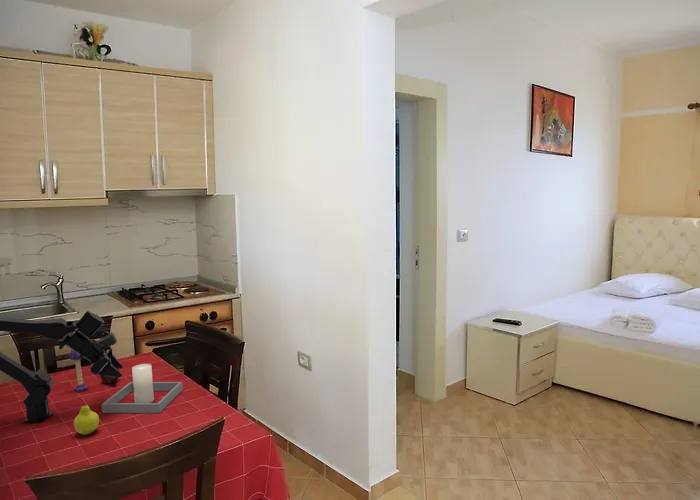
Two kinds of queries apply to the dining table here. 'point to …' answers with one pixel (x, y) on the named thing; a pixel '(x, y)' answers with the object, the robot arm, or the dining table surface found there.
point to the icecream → (109, 378)
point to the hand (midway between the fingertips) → (121, 371)
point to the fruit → (86, 420)
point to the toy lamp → (78, 371)
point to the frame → (115, 407)
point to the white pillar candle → (143, 383)
